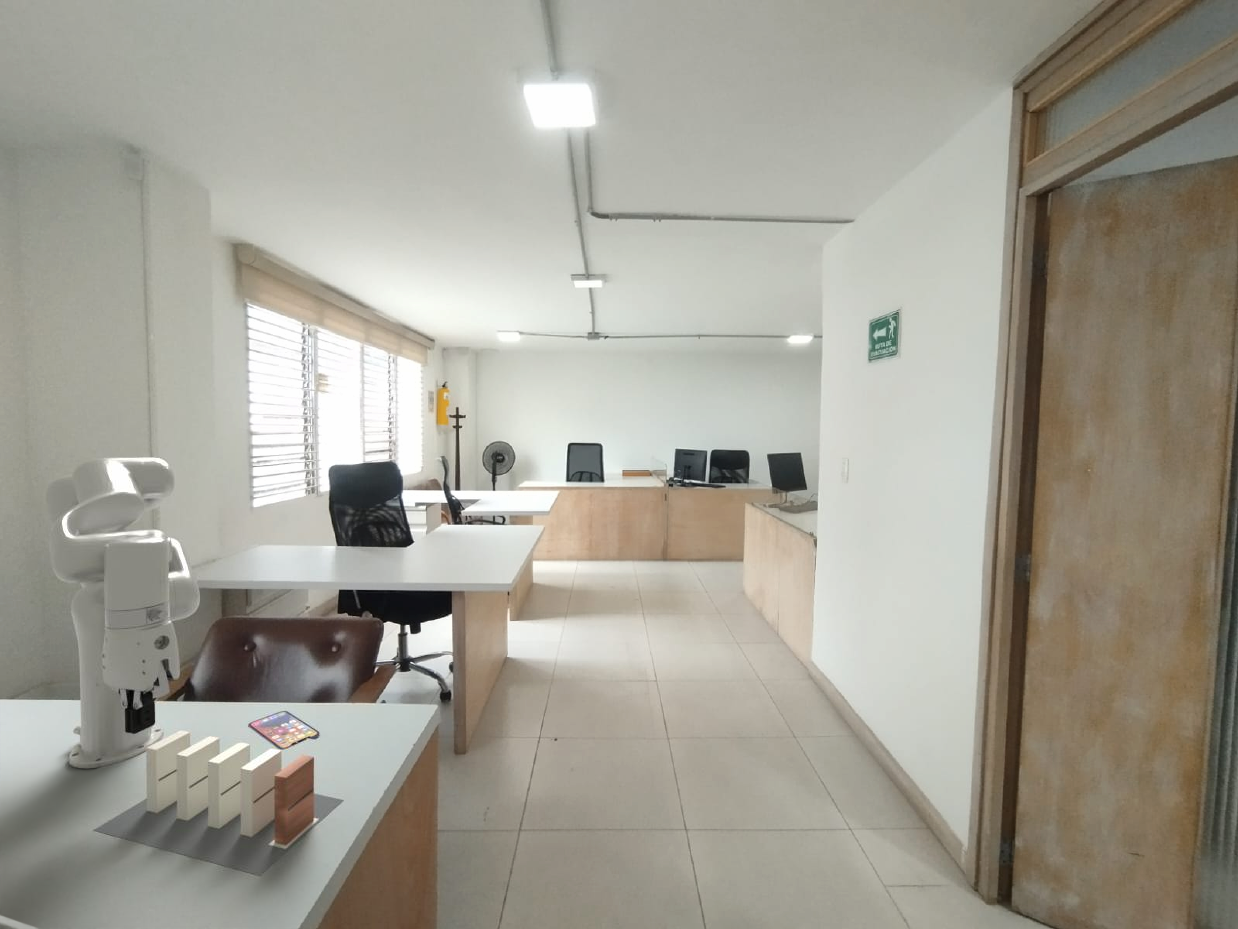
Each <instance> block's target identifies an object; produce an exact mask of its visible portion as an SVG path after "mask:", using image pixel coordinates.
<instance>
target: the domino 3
mask: <svg viewBox="0 0 1238 929" xmlns="http://www.w3.org/2000/svg"><path fill="white" fill-rule="evenodd" d="M249 762H251V744H249V743H245V742H238V743H236V744H234V745H233V746H231V747H230V748H227V749H226V750H224V751H223V752H220V754H219V755H217V756H216V757H214V758H212V759H211V760H209V761H208V826H210V827H214V828H218V829H219V828H221V827H222V826H224V825H225V824H226V823H228V822H229V821H230V820H232V819H233V818H234V817H236V816H237V815H238V814H240V813H241V768H242V767H243V766H245V765H246V764H248V763H249Z"/></svg>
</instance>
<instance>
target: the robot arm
mask: <svg viewBox="0 0 1238 929" xmlns="http://www.w3.org/2000/svg"><path fill="white" fill-rule="evenodd" d="M174 487H175V476H174V472H173V468H172V467H171V465H170V464H168V463H167V461H165V460H163V459H161V458H158V457H148V456H147V457H99V458H93V459H89V460H86V461H84V462H82V463H80V464H79V465H78V466H77V467H76V468H75V469H74V470H73V473H72V474H68V475H64V476H61V477H58V478H56V479H54V480H52V481H51V482H50V483H49V484H48V486H47V489H46V490H45V506H46V509H47V513H48V516H49V519H50V521H51V523H52V527H51V529H50V532H49V536H48V537H49V538H48V550H49V556H50V563H51V568H52V571H53V573H54V575H55V576H56V577H57V579H58V580H59V581H61V582H65V583H69V584H80V586H81V587H82V588H80V589H79V590H78V591H77V592H76V593H75V595H74V596H73V597H72V599H71V602H70V611H71V618H72V621H73V622H72V623H73V626H74V629H75V635H76V639H77V640H76V641H77V644H78V645H77V646H78V660H79V682H80V683H79V689H80V692H79V693H80V696H79V697H80V698H79V699H80V725H77V726H76V727H75V728H74V729H73V730H72V732H73V734H75V735H78V736H79V741H80V742H79V744H77V746H75V747H74V748H73V749H72V750H71V752H70V753H69V755H68V763H69V765H70V766H72V767H74V768H78V769H96V768H101V767H103V766H107V765H111V764H116V763H119V762H123V761H126V760H128V759H131V758H133V757H135V756H138V755H141V754H142V753H144V752H146V748H147V747H149V746H151V745H153V744H155V743H156V742H158V741H160V740H162V739H163V737H164V728H163V727H162V726H161V725H159V724H156V702H157V701H158V699H159V698H161V697H164V696H166V695H168V694H170V691H171V690H170V686H169V682H175V681H176V680H179V678H180V657H179V656H180V655H179V645H178V640H177V634H176V630H175V627H174V624H173V622H174V621H179V620H183V619H186V618H188V617H190V616H191V615H193V614H194V613H196V611H197V609H198V608H199V606H200V600H201V596H200V587H199V585H198V581H197V578H196V576H195V574H194V570H193V568H192V565H191V562H190V560H189V557H188V555H187V552H186V550H185V548H184V546H183V544H182V543H181V542H180V541H178V540H177V539H175V538H173V537H170V536H169V537H168V535H167V534H166V533H165V532H163V531H162V530H159V529H138V530H128V529H127V528H128V527H130V526H132V525H133V524H135V523H137V521H138V520H140V518H142V516H143V514H144V513H145V511H150V510H155V509H157V508H159V507H160V506H161V505H162V504H163V503H164V502H165V501H166V500H167V499H168V498H169V497H170V496H171V494H172V493H173V491H174Z"/></svg>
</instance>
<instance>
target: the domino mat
mask: <svg viewBox="0 0 1238 929" xmlns="http://www.w3.org/2000/svg"><path fill="white" fill-rule="evenodd" d="M344 801H345V800H344V799H340V798H336V797H332V796H327V795H323V794H318V793H314V821H313V822H312V823H311V824H309V825H308V826H307V827H306V828H305V829H304V830H303V831H302V832H301V833H299V834H298V835H297V836H296V837H295V838H294V839H293V840H292V841H291V842H289V843H288V844H287V845H282V844H278V843H275V819H274V820H272V821H271V822H270V823H269V824H267V825H266V826H265V827H264V828H262V829H261V830H260V831H259V832H257V833H256V834H255V835H254V836H253V837H250V836H246V835H242V834H241V813H240V814H238V815H237V816H236V817H234V818H233V819H232V820H230V821H229V822H228V823H226V824H225V825H224V826H222V827H221V828H219V829H218V828H214V827H210V826H208V807H207V808H205V809H204V810H203V811H201V812H200V813H198V814H197V815H195V816H194V817H192V818H191V819H189V820H188V821H186V820H182V819H179V818H177V801H175V802H174V803H172V804H171V805H169V806H167V807H166V808H164V809H163V810H161V811H159V812H158V813H155V812H151V811H147V797H146V798H144V799H143V800H141V801H140V802H138V803H137V804H134V805H133V806H131V807H129V808H128V809H126V810H125V811H123V812H121V813H120V814H118V815H116V816H114V817H113V818H110V820H108V821H106V822H104V823H103V824H101V825H99V826H98V827H96V828H95V829H93V830H92V831H94V832H98V833H102V834H105V835H109V836H112V837H116V838H119V839H124V840H127V841H130V842H131V841H132V842H134V843H138V844H141V845H145V846H148V847H153V848H156V849H159V850H160V849H161V850H162V851H163V850H164V851H166V852H171V853H175V854H178V855H182V856H185V857H188V858H189V857H190V858H193V859H197V860H201V861H204V862H208V863H212V864H215V865H219V866H223V867H226V868H230V869H233V870H238V871H241V872H244V873H249V874H251V875H256V876H261V875H263V874H264V873H265V872H266V871H267V870H268V869H270V868H271V866H273V865H274V864H275V863H276V862H278V860H279V859H281V858H282V857H283V856H284V855H285V854H286V853H287V852H288V851H290V850H291V849H292V848H293V847H294V846H295V845H296V844H297V843H298V842H299V841H301V840H302V839H303V837H305V836H307V834H308V833H309V832H310V831H312V830H313V829H314V828H315V827H316V826H317V825H318V824H320V823H321V821H322V820H324V819H325V818H326V817H327V816H328V815H330V813H332V811H334V810H335V809H336V808H337V807H338V806H340V804H342V802H344Z"/></svg>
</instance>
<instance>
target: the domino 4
mask: <svg viewBox="0 0 1238 929" xmlns="http://www.w3.org/2000/svg"><path fill="white" fill-rule="evenodd" d="M281 770H282V749H276V748H275V749H274V748H269V749H268V750H266V751H265V752H263V753H262V754H260V755H258V756H257V757H256V758H254V759H252V760H250V762H249V763H248V764H246V765H245V766H243V767H242V768H241V834H242V835H246V836H250V837H253V836H254V835H255V834H256V833H257V832H259V831H260V830H261V829H262V828H264V827H265V826H266V825H267V824H269V823H270V822H271V821H272V820H274V819H275V807H274V775H276V774H277V773H279V772H280V771H281Z"/></svg>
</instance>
